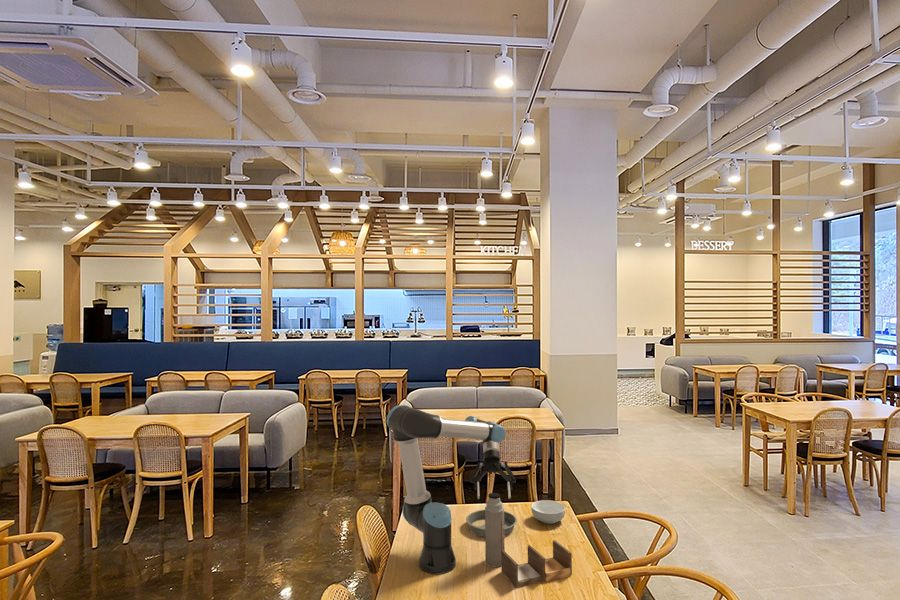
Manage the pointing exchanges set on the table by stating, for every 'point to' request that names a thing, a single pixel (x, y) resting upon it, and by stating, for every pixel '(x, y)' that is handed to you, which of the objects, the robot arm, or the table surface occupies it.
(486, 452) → the robot arm
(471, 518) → the cake pan
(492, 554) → the thermos bottle
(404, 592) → the table surface
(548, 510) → the cereal bowl
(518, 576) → the rack
